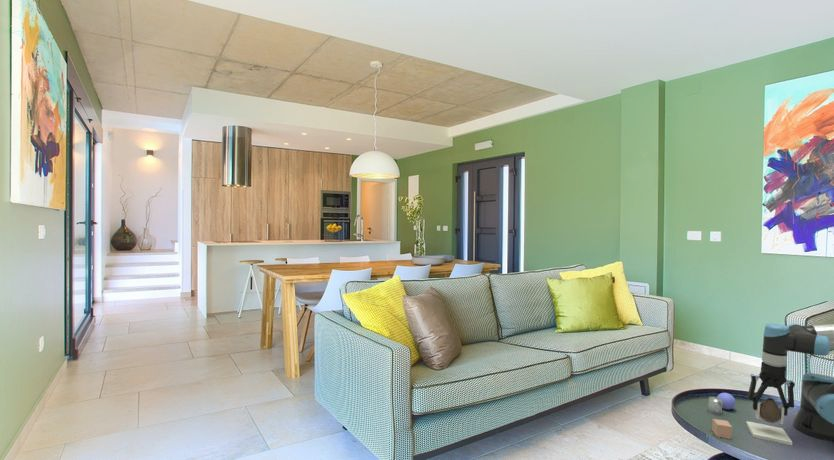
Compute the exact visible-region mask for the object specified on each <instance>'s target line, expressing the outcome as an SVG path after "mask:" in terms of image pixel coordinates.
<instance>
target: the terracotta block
mask: <svg viewBox="0 0 834 460" xmlns="http://www.w3.org/2000/svg"><path fill="white" fill-rule="evenodd" d="M712 431H713V432H714V433H715V434H716V436H719V437H718V438H720V437H722V438H721V439H728V440H731V439H732V434H733V426H732V425H731V424H730V422H729V421H728V420H724V419H717V418H712V424H711V432H712ZM713 432H712V433H713ZM714 433H713V434H714ZM715 434H714V435H715ZM716 436H715V437H716Z"/></svg>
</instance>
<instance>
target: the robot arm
mask: <svg viewBox="0 0 834 460" xmlns="http://www.w3.org/2000/svg"><path fill="white" fill-rule="evenodd" d="M763 330H764V331H763V343H762V353H761V361H762V362H761V364H760V373H759V374H753V373H751V374H750V379H751V380H750V384H749V389H748V394H747V397H748V399H749V400H750V401H752V409H753V410H754V411H755V412H754V417H755V419H756V420H760V415H759V414H760V404H761V403H760V399H761V398H762V396H763V394H764V393H765V392H766V390H767V389H768V388H774V389H776V390H777V393H778V396H779V398H780V401H781V404H779V408H780V411H781V416H780V419H779V421H778V422H779V424H780V425H784V419H785V417H786V416H788V411H789V410H788V409H789V408H795V396H794V395H795V394H794V388H795V385H796V383H795V382H794V381H793V380H789V379H787V378H786V371H787V366H786V365H787V358H788V352H795V353H801V354H807V355H813V356H822V357H827V356H828V355H830V351H831V344H834V323H827V324H811V325H800V324H798V323H791V324H788V325H785V324H779V323H766V325H765V326H764V329H763ZM759 379H760V381H762V382H761V384H760V386H759V388H758V389H757V391H756V387H757V382H758V381H759ZM801 382H802V383H801V392H800V393H801V394H800V406H799V409H798V411H797V413H796V414H795V416H794V418H793V421H792V425H793V427H794V428H795V429H796V430H797V431H799V432H800V433H803V434H805V435H808V436H810V437H813V438H816V439H820V440H824V441H830V440H834V376H830V375H825V374H819V373H814V372H813V373H812V372H807V373H804V374H803V375H802V379H801ZM784 384H786V386H787V399H786V396H785V393H784V391H783V387H782V386H783V385H784Z"/></svg>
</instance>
